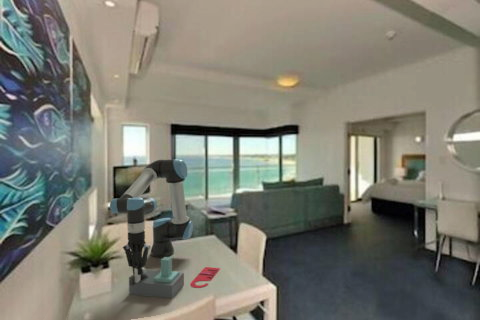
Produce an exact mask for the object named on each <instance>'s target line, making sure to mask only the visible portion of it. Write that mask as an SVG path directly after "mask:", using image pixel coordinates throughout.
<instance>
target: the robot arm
mask: <svg viewBox="0 0 480 320" xmlns="http://www.w3.org/2000/svg"><path fill="white" fill-rule="evenodd" d="M187 176H188V166H187V164H186V162H185V160H182V159H178V158H177V159H176V158H175V159H157V160H155V161H153V162H151V163H149V164H148V165H147V166H145V168H143V170H142V171H141V174H140V175H139V176H138V177H137V179H136V180H135V181H134V182H133V183H132V184H131V185H130V187H129V188H128V189H127V190H126V191H125V192H124V193H123V194H122V195H121V196H120V197H119V198H118V197H117V198H112V199H111V200H110V203H109V209H110V212H111V213H113V214H126V217H127V218H126V219H127V222H126V223H127V244H125V245H123V246H122V248H123V250H124V253H125V256H126V261H127V264H128V266H129V267H131V268H132V275H135V282H136V283H138V282H139V281H140V280H141V276H140V274H142V267H145V265H146V263H147V260H148V255H149V251H150V256H151V257H153V258H164V257H169V256H171V255H173V254H174V253H175V248H174V245H173V243H172V242H173V241H172V239H176V240H177V239H178V240H179V239H180V240H188V239H190V237H192V234H193V230H194V222H193V220H190V217H189V216H188V215H187V207H186V198H185V190H184V181H185V180H186V178H187ZM157 179H158V180H159V179H165V182H166V184H168V187H169V194H170V201H171V211H172V218H170V217H163V218H159V219H156V220H154V221H153V223H152V239H153V240H152V241H153V243H152V246H151V245H147V243H146V239H145V238H146V231H145V226H146V225H145V216H146V215H149V214H151V213H153V212H155V211H156V210H157V207H158V203H157V201H156V200H155V199H154V198H152V197H147V198H146V197H145V198H144V197H142V195H143V194H144V192H145V191H146V190H147V188H149V186H150V185H151V184H152V183H153V182H155V181H156V180H157Z"/></svg>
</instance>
